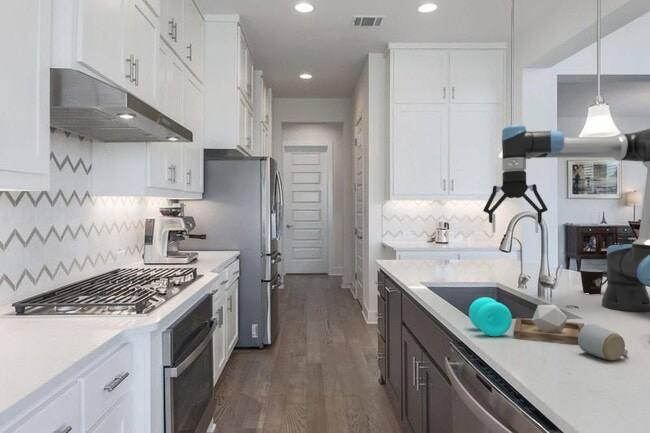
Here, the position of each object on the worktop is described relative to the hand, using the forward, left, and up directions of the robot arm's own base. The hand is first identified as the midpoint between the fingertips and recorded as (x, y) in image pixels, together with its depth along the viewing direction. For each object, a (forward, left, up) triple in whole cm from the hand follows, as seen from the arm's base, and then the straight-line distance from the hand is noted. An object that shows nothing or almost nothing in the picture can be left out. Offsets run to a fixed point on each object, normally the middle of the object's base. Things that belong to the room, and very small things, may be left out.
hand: (514, 232), depth 150 cm
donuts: (+6, +26, -29) cm, 39 cm away
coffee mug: (-29, -54, -29) cm, 68 cm away
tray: (-10, +21, -29) cm, 37 cm away
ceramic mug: (-22, +36, -29) cm, 52 cm away
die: (-10, +21, -28) cm, 37 cm away
